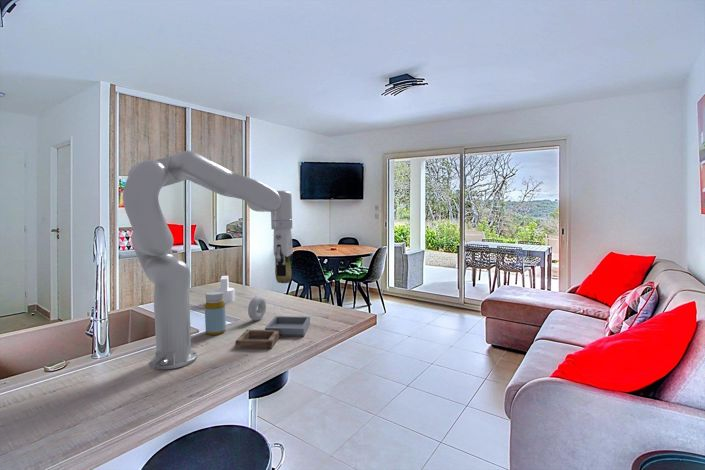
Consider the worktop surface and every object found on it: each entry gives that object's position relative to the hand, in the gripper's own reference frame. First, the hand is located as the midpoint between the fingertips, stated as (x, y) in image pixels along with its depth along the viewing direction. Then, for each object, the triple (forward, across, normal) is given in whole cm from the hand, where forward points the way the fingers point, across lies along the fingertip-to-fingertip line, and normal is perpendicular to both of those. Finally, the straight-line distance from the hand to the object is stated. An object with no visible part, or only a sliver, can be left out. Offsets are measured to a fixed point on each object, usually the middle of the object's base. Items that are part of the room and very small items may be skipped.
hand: (283, 273), depth 134 cm
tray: (+22, +2, -1) cm, 22 cm away
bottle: (+22, -2, +26) cm, 34 cm away
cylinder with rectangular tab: (+22, +41, +40) cm, 61 cm away
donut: (+22, +13, +15) cm, 30 cm away
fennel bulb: (+4, 0, 0) cm, 4 cm away
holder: (+22, -11, +6) cm, 25 cm away
